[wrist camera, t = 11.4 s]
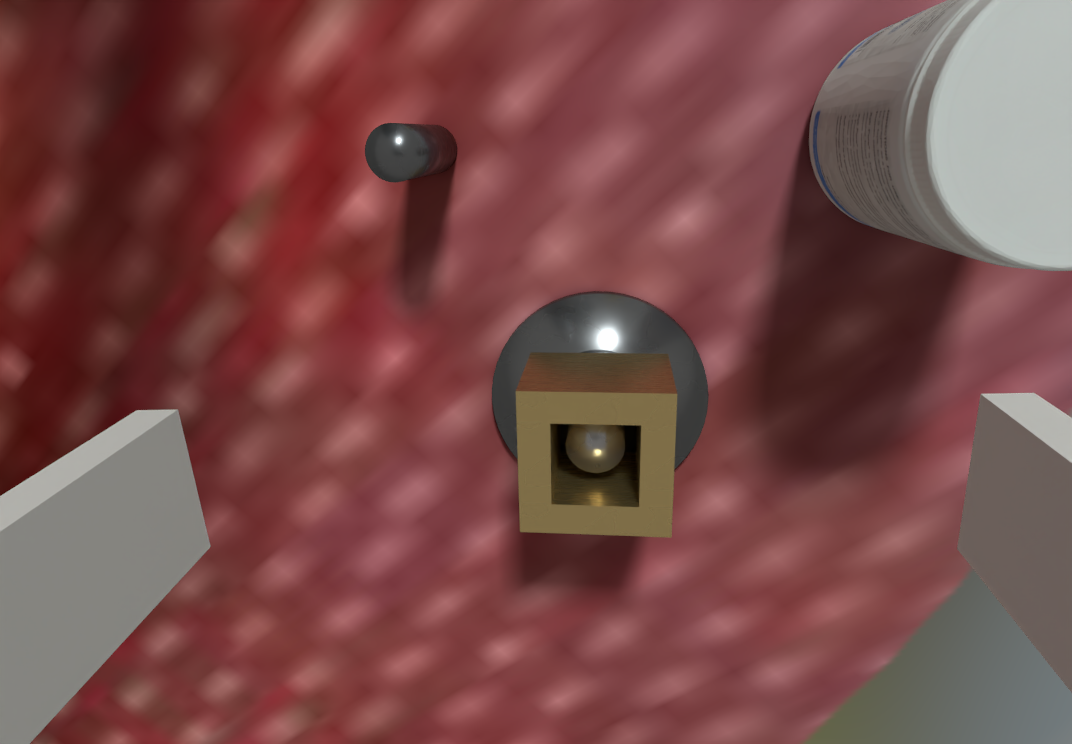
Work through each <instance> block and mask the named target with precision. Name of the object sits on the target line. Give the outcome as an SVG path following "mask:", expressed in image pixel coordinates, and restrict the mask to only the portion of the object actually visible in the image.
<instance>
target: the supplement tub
mask: <svg viewBox="0 0 1072 744" xmlns="http://www.w3.org/2000/svg"><path fill="white" fill-rule="evenodd" d="M809 151H810V159H811V163H812V167H813V170H814V173H815V176H816V178H817V181H818V183H819V185H820V186H821V188H822V190H823V191H824V193H825V194H826V196H827V197H828V198H829V199H830V201H831V202H832V203H833V204H834V205H835V206H836V207H837V208H838V209H840V210H841V211H842V212H843V213H845V214H846V215H848V216H849V217H850V218H852V219H854V220H856V221H858V222H860V223H862V224H865V225H868V226H870V227H873V228H877V229H880V230H883V231H886V232H889V233H892V234H896V235H899V236H902V237H905V238H908V239H911V240H915V241H918V242H921V243H924V244H928V245H931V246H934V247H937V248H940V249H944V250H947V251H950V252H953V253H956V254H960V255H963V256H966V257H970V258H973V259H977V260H980V261H984V262H987V263H991V264H995V265H1000V266H1007V267H1014V268H1025V269H1036V270H1047V271H1071V270H1072V0H947V1H945V2H943V3H940V4H938V5H936V6H933V7H931V8H929V9H927V10H924V11H922V12H920V13H918V14H916V15H913V16H911V17H909V18H906V19H904V20H902V21H900V22H897V23H895V24H893V25H891V26H888V27H886V28H884V29H882V30H880V31H878V32H876V33H875V34H873V35H871V36H869V37H868V38H866V39H865V40H863V41H862V42H860V43H859V44H858V45H856V46H855V47H854V48H853V49H852V50H850V51H849V52H848V53H847V54H846V55H845V56H844V57H843V58H842V59H841V60H840V62H839V63H838V64H837V65H836V66H835V68H834V69H833V70H832V71H831V73H830V74H829V76H828V77H827V79H826V81H825V82H824V84H823V86H822V88H821V90H820V92H819V94H818V97H817V99H816V102H815V105H814V108H813V111H812V116H811V121H810V129H809Z"/></svg>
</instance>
